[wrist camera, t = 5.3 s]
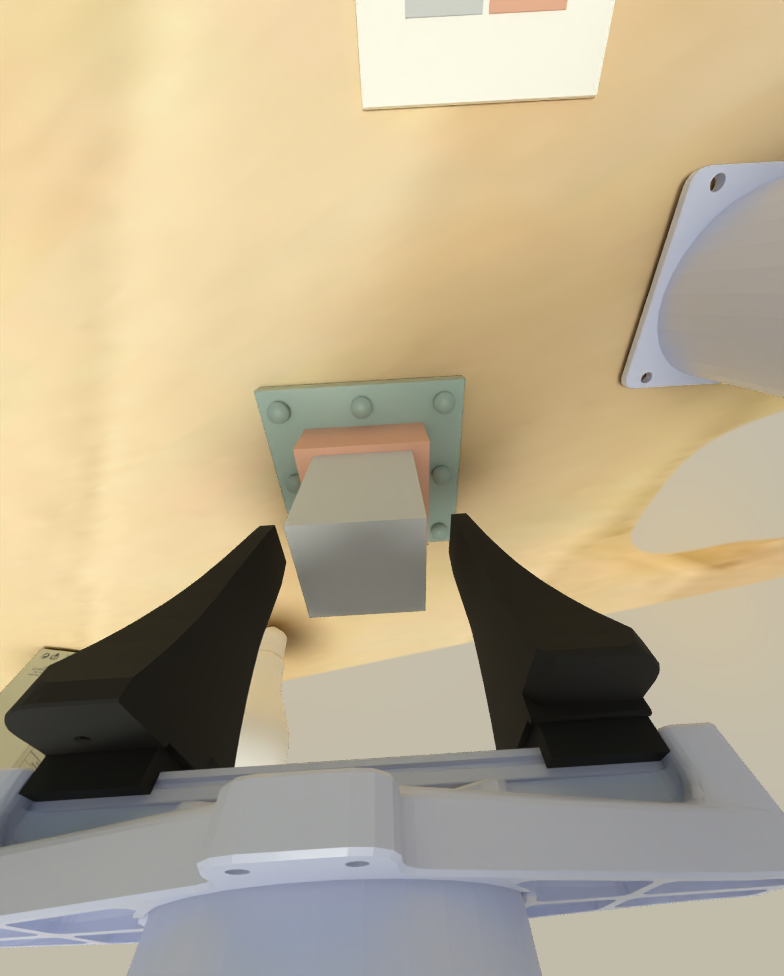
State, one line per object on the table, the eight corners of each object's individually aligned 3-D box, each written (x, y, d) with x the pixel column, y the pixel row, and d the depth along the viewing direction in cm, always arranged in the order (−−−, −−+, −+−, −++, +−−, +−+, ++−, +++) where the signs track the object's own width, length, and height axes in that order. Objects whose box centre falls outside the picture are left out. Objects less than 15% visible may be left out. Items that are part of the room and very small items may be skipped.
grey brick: (412, 450, 14) (426, 517, 10) (413, 528, 16) (425, 610, 12) (313, 455, 14) (283, 526, 9) (328, 533, 16) (309, 617, 12)
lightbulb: (293, 658, 27) (248, 845, 18) (223, 637, 26) (133, 833, 16) (324, 620, 25) (292, 815, 15) (250, 594, 23) (162, 797, 14)
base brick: (422, 422, 16) (429, 441, 14) (422, 517, 19) (428, 544, 17) (304, 429, 16) (292, 449, 14) (323, 523, 19) (316, 551, 17)
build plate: (461, 375, 15) (467, 381, 14) (451, 532, 21) (455, 545, 19) (259, 387, 15) (250, 394, 14) (300, 541, 21) (296, 555, 19)
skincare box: (41, 645, 25) (-196, 888, 15) (101, 652, 26) (-84, 888, 16) (60, 685, 28) (-126, 910, 18) (113, 691, 29) (-36, 909, 19)
